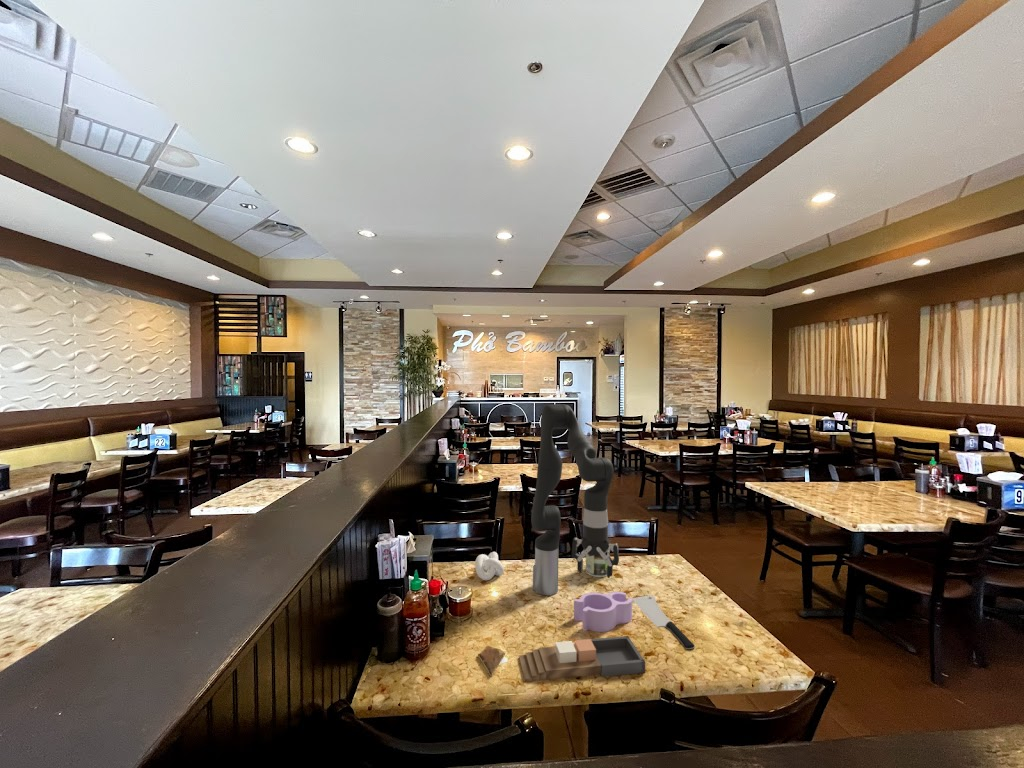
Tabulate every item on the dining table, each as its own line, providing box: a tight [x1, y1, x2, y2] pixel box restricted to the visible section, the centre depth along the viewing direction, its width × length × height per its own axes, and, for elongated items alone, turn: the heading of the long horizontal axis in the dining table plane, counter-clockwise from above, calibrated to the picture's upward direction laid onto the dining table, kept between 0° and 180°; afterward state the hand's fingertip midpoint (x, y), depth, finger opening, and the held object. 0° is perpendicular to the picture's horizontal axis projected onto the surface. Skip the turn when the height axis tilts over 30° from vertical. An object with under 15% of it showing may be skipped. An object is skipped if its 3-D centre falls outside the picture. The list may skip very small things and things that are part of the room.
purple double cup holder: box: [573, 591, 633, 633], centre depth 149 cm, size 20×12×7 cm, turn 109°
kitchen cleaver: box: [632, 595, 695, 651], centre depth 149 cm, size 31×2×10 cm
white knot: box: [474, 551, 505, 581], centre depth 181 cm, size 11×12×9 cm
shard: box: [477, 645, 506, 678], centre depth 127 cm, size 11×8×2 cm
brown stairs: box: [518, 648, 547, 682], centre depth 124 cm, size 6×10×2 cm, turn 8°
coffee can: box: [585, 538, 611, 578], centre depth 185 cm, size 10×10×14 cm
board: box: [538, 646, 601, 680], centre depth 126 cm, size 16×10×2 cm, turn 98°
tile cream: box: [554, 640, 576, 663], centre depth 126 cm, size 5×5×3 cm
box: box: [590, 635, 646, 678], centre depth 128 cm, size 13×12×3 cm
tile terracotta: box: [573, 638, 596, 661], centre depth 127 cm, size 5×5×3 cm
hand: (594, 574), depth 133 cm, fingers open, 8 cm apart
